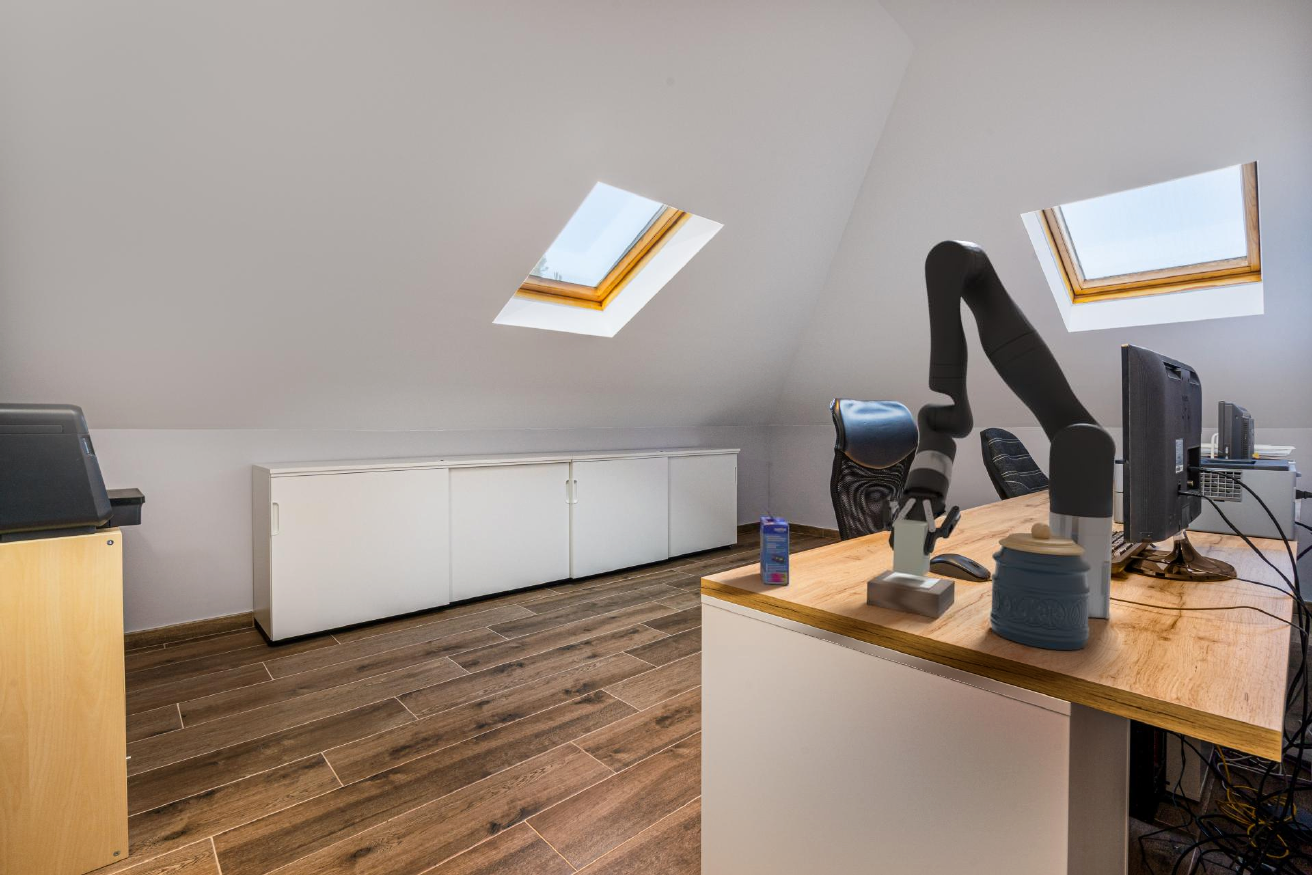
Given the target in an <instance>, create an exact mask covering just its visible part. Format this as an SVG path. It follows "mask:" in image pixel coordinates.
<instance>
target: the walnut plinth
mask: <svg viewBox="0 0 1312 875" xmlns="http://www.w3.org/2000/svg"><path fill="white" fill-rule="evenodd" d="M866 585H867V586H866V605H869V606H875V607H880V608H884V609H885V608H886V609H890V610H895V611H900V612H906V613H910V614H915V615H920V616H924V617H925V616H926V617H930V618H935V619H940V618H941V616H943V614H944V613H945V612H946V611H948V609H950V607H952V605H953V604H954V603H955V592H956V591H955V587H956V580H951V579H944V578H939V577H932V576H927V575H924V576H916V575H910V574H904V573H897V572H893V570H890V569H888V570H886V571H884V572H882V573H880V574H879V575H876V576H875V577H873V578H872V579H869V580H868V581H867V582H866Z"/></svg>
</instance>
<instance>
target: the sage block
mask: <svg viewBox="0 0 1312 875" xmlns="http://www.w3.org/2000/svg"><path fill="white" fill-rule="evenodd" d="M928 527H929V523H927V522H924V521H915V520H899V521H897V522H895V528H894V551H893V561H892V562H893V563H892V564H893V565H892V571H893V572H897V573H904V574H910V575H916V576H926V575H927V574H928V573H930V570H931V569H930V567H931V553H929V556H926V555H924V551H923V547H924V543H925V539H926V536H927V532H929V529H928Z"/></svg>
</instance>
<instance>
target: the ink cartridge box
mask: <svg viewBox="0 0 1312 875" xmlns="http://www.w3.org/2000/svg"><path fill="white" fill-rule="evenodd" d="M765 509H766V511H767V513H768V515H769V516H760V518H759V521H760V526H759V527H760V528H759V529H760V530H759V538H760V539H759V540H760V541H759V560H760V561H759V569H760V570H759V571H760V577H761V581H762V584H764V585H767V584H768V585H769V584H770V585H783V586H788V585H790V524H789V522H787V521H786V519H785V518H784V517H777V516H775V517H774V516H773V515H772V514H771V512H770V510H769V509H768V507H766V508H765Z"/></svg>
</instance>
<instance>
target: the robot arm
mask: <svg viewBox="0 0 1312 875" xmlns="http://www.w3.org/2000/svg"><path fill="white" fill-rule="evenodd" d="M924 279H925V285H926V286H925V287H926V294H927V295H926V296H927V304H928V305H927V306H928V314H929V315H928V316H929V326H930V327H929V331H930V353H929V354H930V356H929V368H928V370H929V371H928V389H929V390H930V391H932V392H935V393H939V394H943V395H945V396H949V397H950V398H951V399H952V400H951V401H952V402H953V403H938V402H937V403H934V402H933V403H927V404H924V405H923V406H922V407H921V408H920V409H919V410H918V413H917V427H918V434H919V436H918V438H919V439H918V445H917V446H918V447H917V450H916V452H915V455H914V456H915V457H914V459H913V460H912V462H911V465H910V467H909V472H908V474H907V478H906V482H905V484H904V489H903V491H902V496H900V498H899V499H898V500H897V501H890V499H888V498H885V499H883V501H882V522H883V525H884V528H885V531H886V532H890V535H889V536H888V537H889V538H888V544H889V548H891V550H892V551H893V552H894V528H895V522H897V521H899V520H915V521H924V522H927V523H929V527H928V529H929V532H927V536H926V539H925V543H924V547H923V551H924V555H926V556H929V553H930V554H933V553H934V550H935V546H936V542H937V539H940V538H942V539H944V540H945V539H949V538H950V536H951V534H952V533H953V531H954V529H955V528H956V526H957V525H958V524H959V521H960V519H961V518H962V515H961V514H962V513H961V510H960V506H958V505H954V506H948V505H947V504H946V500H947V496H948V492H949V489H950V485H951V483H952V475H953V466H954V462H955V459H956V455H957V454H956V453H957V448H958V447H957V443H956V442H955V440H954V439H957V440H958V439H965V438H966V437H969V435H970V434H971V432H972V431H973V428H974V417H973V413H972V409H971V405H970V400H969V395H968V390H967V389H968V388H967V377H968V376H967V375H968V360H969V352H968V351H969V350H968V343H967V338H966V334H965V330H964V325H963V321H962V313H961V301H962V300H963V301H964V303H965V304H966V306H967V307H968V308H969V310H970V311H971V313H972V315H973V318H974V320H975V323H976V326H977V332H978V337H979V342H980V344H981V347H982V350H983V352H984V354H985V356H986V357H987V359H988V361H989V362H990V364H991V365H992V367H993V368H994V369H995V371H996V373H997V374H998V375H999V377H1000V378H1001V379H1002V381H1003V382H1004V383H1005V384H1006V386H1007V387H1008V388H1009V389H1010V391H1012V393H1013V394H1014V395H1015V396H1016V397H1017V398H1018V399H1019V400H1020V401H1021V402H1022V403H1023V404H1024V405H1025V406H1026V407H1027V408H1028V409H1029V411H1031V413H1032V414H1033V416H1034V417H1035V418H1036V420H1037V422H1038V424H1040V426H1041V428H1042V430H1043V431H1044V433H1045V435H1046V438H1047V439H1048V440H1049V441H1048V442H1049V443H1050V447H1049V454H1048V455H1049V457H1048V461H1049V463H1048V498H1049V511H1048V514H1049V515H1048V519H1049V520H1048V526H1049V527H1050V529H1051V535H1052V536H1059V537H1064V538H1068V539H1071V540H1073V541H1074V542H1075V543H1076V544H1077V545H1079V546H1080V547H1082V548H1084V549H1085V553H1084V554H1081V556H1082V558H1083V560H1084V561H1086V562H1087V563H1089V564H1090V565H1091V567H1092V569H1091V570H1090V571H1089V572H1088V573H1087V585H1088V586H1089V587H1090V588H1091V592H1090V593H1089V613H1088V618H1101V619H1110V606H1111V605H1110V602H1111V579H1112V578H1111V576H1112V574H1111V573H1112V544H1113V543H1112V542H1113V540H1112V539H1113V520H1114V519H1113V515H1114V481H1115V480H1114V478H1115V458H1116V457H1115V456H1116V453H1117V446H1116V443H1115V440H1114V438H1113V437H1112V436H1111V434H1110V433H1109V432H1108V431H1107V430H1106V429H1105V428H1103V426H1102V425H1101V424H1100V423H1099V422H1098V421H1097V420H1096V419H1095V418H1094V417H1093V415H1092V414H1091V413H1090V412H1089V411H1088V409H1087V408H1086V407H1085V406H1084V405H1083V404H1082V402H1081V401H1080V400H1079V398H1078V397H1077V396H1076V394H1075V393H1074V391H1073V389H1072V388H1071V386H1070V384H1069V382H1068V380H1067V378H1066V376H1065V374H1064V371H1063V370H1062V368H1061V367H1060V365H1059V363H1058V361H1057V359H1056V358H1055V356H1054V355H1053V354H1054V353H1052V351H1051V350H1050V348H1049V346H1048V344H1046V342H1045V340H1044V339H1043V337H1042V336H1041V335H1040V334H1039V332H1038V330H1037V329H1036V328H1035V326H1034V325H1033V324H1032V323H1031V321H1030V320H1029V319H1028V317H1027V316H1026V314H1025V313H1024V312H1023V311H1022V308H1020V307H1019V305H1018V304H1017V303H1016V301H1015V300H1014V298H1012V297H1011V295H1010V294H1009V293H1008V291H1007V289H1006V288H1005V286H1004V284H1003V283H1002V281H1001V279H1000V277H999V275H998V273H997V271H996V270H995V268H994V265H993V264H992V262H991V260H990V258H989V256H988V254H987V253H986V251H985V250H984V249H983V248H982V247H981V246H980V245H978V244H976V243H974V242H971V241H968V240H967V241H965V240H956V239H955V240H954V239H953V240H951V239H948V240H943V241H941V242H938V243H936V244H935V245H933V247H932V248H931V249H930V250H929V252H928V253H927V256H926V258H925V262H924ZM961 299H962V300H961ZM897 509H899V510H900V512H899V513H898V514H897V518H895V520H894V521H893V515H894V514H895V512H896V510H897ZM892 514H893V515H892ZM944 514H945V519H944V520H943V521H942V523H941V525H940V526H939V527H936V522H935V520H937V519H938V518H940V517H941V516H943V515H944Z"/></svg>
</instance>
